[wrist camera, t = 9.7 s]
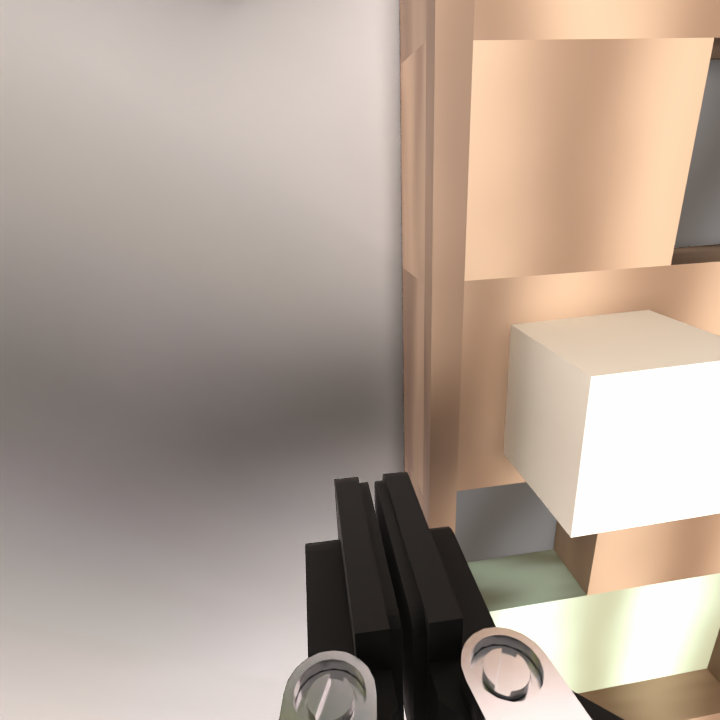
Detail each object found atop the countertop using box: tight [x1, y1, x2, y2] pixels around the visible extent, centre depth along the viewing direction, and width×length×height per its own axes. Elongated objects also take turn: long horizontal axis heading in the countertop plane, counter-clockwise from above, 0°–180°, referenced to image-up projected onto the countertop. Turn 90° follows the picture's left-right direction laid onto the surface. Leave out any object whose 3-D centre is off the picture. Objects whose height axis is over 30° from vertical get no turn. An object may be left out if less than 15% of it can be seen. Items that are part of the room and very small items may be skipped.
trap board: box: [400, 0, 720, 720], centre depth 18 cm, size 16×35×5 cm, turn 3°
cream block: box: [504, 310, 720, 538], centre depth 15 cm, size 5×5×4 cm
